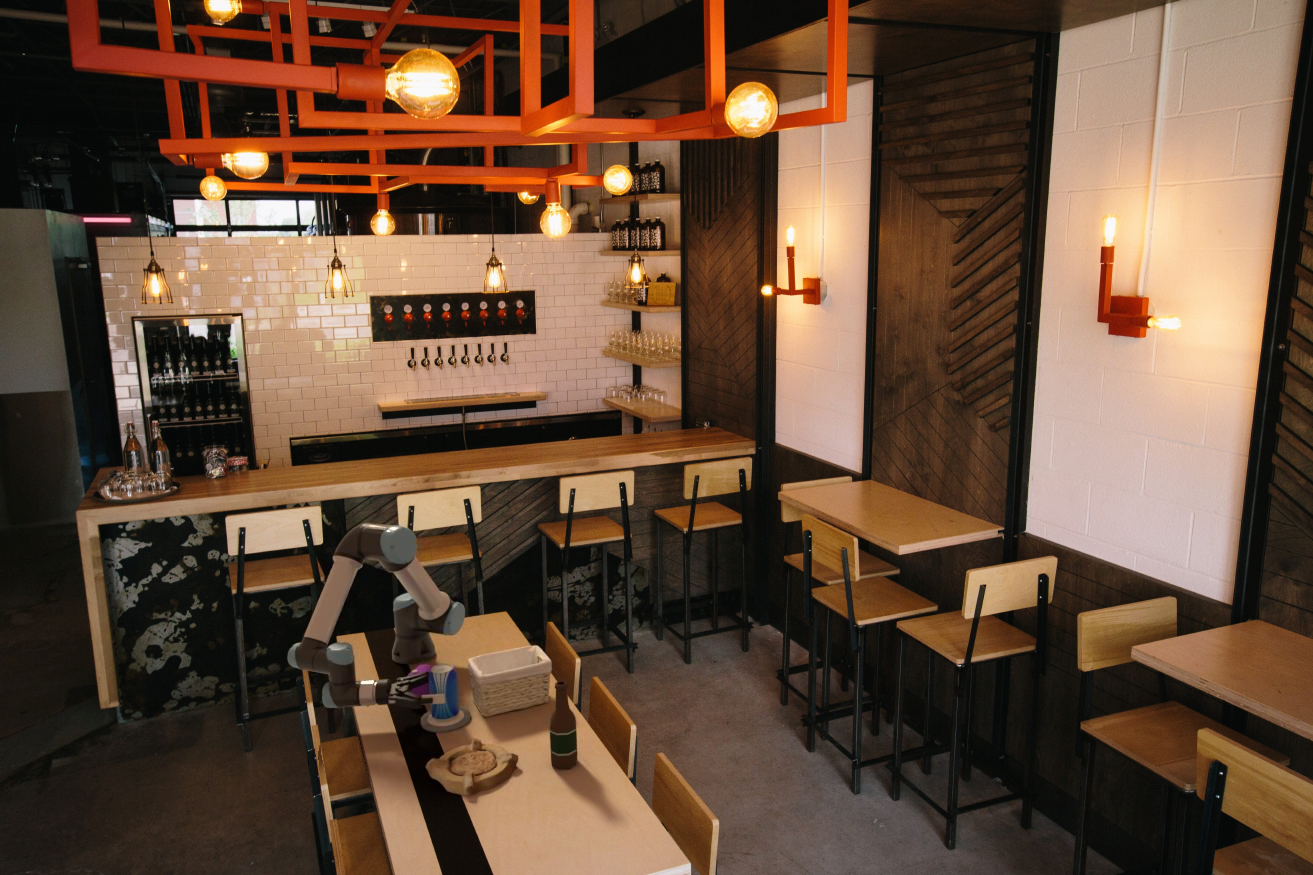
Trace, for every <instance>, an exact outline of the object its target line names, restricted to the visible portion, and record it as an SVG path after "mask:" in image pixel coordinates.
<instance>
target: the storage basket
mask: <svg viewBox="0 0 1313 875" xmlns="http://www.w3.org/2000/svg"><path fill="white" fill-rule="evenodd" d="M540 661H541V662H540ZM552 663H553V662H552V660H551V658H549V656H548V655H547V654H546V653H545V651H543V649H542V648H541V647H540V646H538V645H536V644H535V645H529V646H521V647H520V646H519V647H516V648H510V649H505V650H500V651H495V652H490V653H489V652H488V653H485V654H481V655H476V656H473V657H470V658H468V659H467V668H468V671H469V676H470V686H471V693H472V700H473V702H474V704H475V705H476V707H477V709H478V711H480V714H481V716H483V717H486V718H487V717H491V716H495V715H500V714H503V713H508V712H511V711H517V710H523V709H524V710H525V709H528V708H530V707H533V706H538V705H542V704H547V703H549V701H550V686H551V685H550V684H551V674H552V670H553V668H552Z"/></svg>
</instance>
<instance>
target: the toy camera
mask: <svg viewBox="0 0 1313 875" xmlns="http://www.w3.org/2000/svg"><path fill="white" fill-rule="evenodd" d="M436 665H437V664H433V665H431V664H420V665H419V666H417V667H415V668H414V669H413V670H412V671H410V672H409V673H408V675H407V676H411V675H415V674H419V673H423V672H430V673H431V669H432V667H434V666H436ZM409 693H412V694H414V695H417V696H420V697H421V698H422V695H430V689H429V683H427V684H424V685H422V686H419V687H416V688H414V689H412V690H411V691H410V692H409Z"/></svg>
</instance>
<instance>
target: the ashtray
mask: <svg viewBox="0 0 1313 875" xmlns="http://www.w3.org/2000/svg"><path fill="white" fill-rule="evenodd" d="M471 740H472V741H471V744H464V745H460V746H457V747H454V748H453V749H450V750H448V751H447V752H445V753H444V754H443V755H441V756H440V757H439V758H435V757H433V758H431V759H430V760H429V761H427V763H426V765H425V769H426V770H427V773H428V774H429V777H430V778H431V779H433V780H436V781H438V782H439V783H440V784H441V785H442V786H443V787H444V789H445V790H446V792H449V793H452V794H456V795H460V796H461V795H462V796H473V795H477V794H480V793H482V792H485V791H487V790H490V789H493V788H496V787H498V786H500V785H501V784H503V783H505V782H506V781H507V780H509V779H510V778H511V777H512V775H513V774H514V772H515V771H516V768H517V765H518V762H519V755H518V754H517V753H516V754H515V753H513V752H510V753H509V752H508V751H507V750H506V749H504V748H503V747H501V746H499V745H495V744H490V743H482V741H481V739H478V738H474V737H472V739H471Z"/></svg>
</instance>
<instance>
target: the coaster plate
mask: <svg viewBox="0 0 1313 875" xmlns="http://www.w3.org/2000/svg"><path fill="white" fill-rule="evenodd" d="M471 718H472V716H471V711H470V710H469V709H468V708H466V707H464V706H460V705H459V714H458V715H457V717H456V718H455V719H454V720H452V721H449V722H437V721H436V720H435V719H434V718H433V717H432V715H431V709H430V710H429V711H427V712H426V713H424V714H423V715H422V716H421V717H420V726H421V728H422V729H423V730H425V731H427V732H429V733H438V734H439V733H440V734H441V733H449V732H452V731H453V732H454V731H457V730H459V729H462V728H463V727H465V726H467V724H468V723H469V722H470V721H471Z"/></svg>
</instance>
